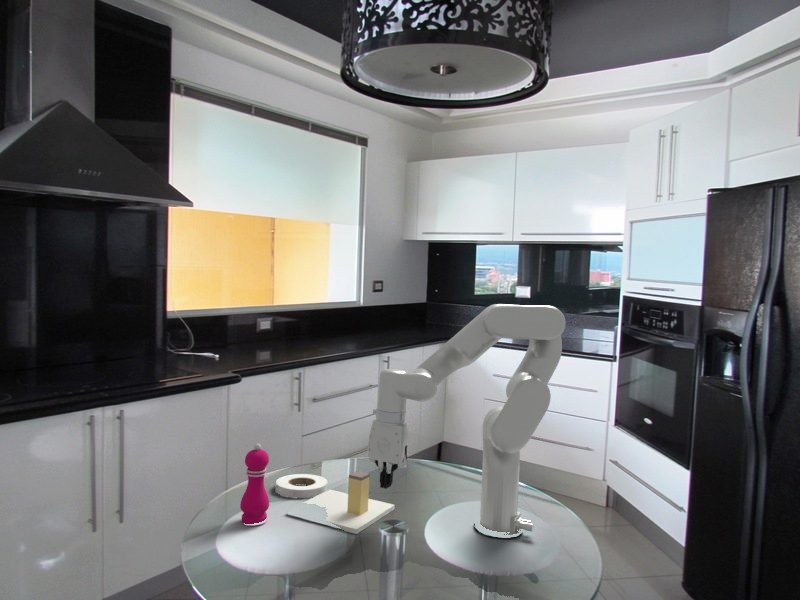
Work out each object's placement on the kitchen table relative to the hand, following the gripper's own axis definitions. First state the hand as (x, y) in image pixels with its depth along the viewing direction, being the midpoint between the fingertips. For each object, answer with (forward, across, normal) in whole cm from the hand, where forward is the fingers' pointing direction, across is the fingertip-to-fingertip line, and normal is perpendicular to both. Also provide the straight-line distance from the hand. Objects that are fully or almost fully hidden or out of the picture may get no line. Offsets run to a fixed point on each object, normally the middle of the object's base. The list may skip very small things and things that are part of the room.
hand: (385, 486), depth 142 cm
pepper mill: (+11, -28, -18) cm, 35 cm away
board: (+10, -13, 0) cm, 16 cm away
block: (+9, -8, 0) cm, 12 cm away
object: (+11, -33, +8) cm, 36 cm away
